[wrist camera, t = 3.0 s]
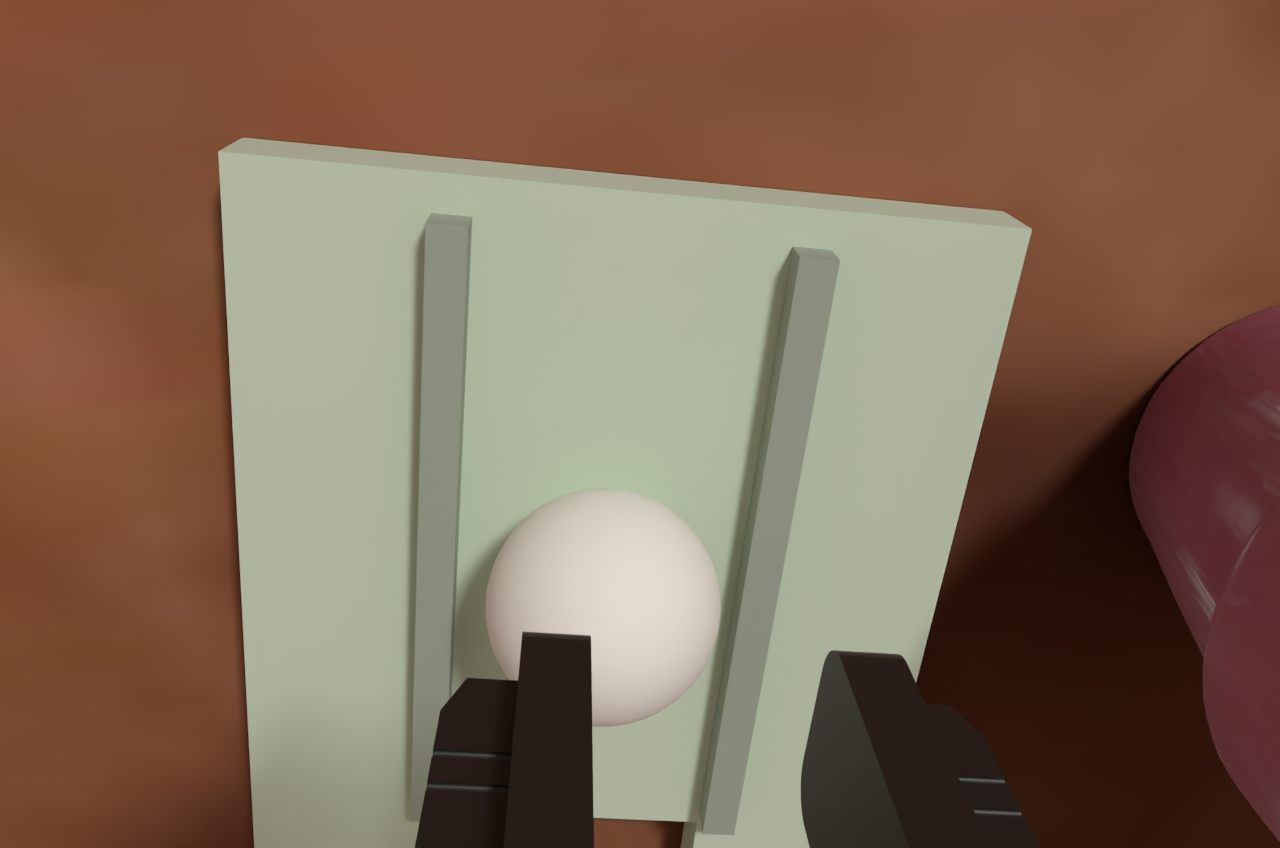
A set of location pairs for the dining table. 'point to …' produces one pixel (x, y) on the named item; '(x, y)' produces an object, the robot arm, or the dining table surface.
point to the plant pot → (1224, 535)
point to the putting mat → (582, 452)
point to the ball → (610, 597)
